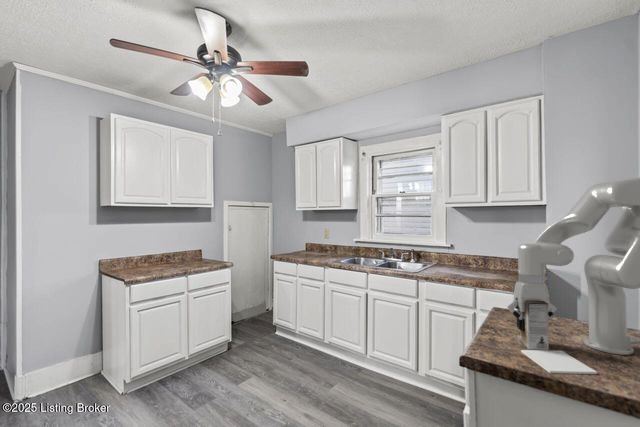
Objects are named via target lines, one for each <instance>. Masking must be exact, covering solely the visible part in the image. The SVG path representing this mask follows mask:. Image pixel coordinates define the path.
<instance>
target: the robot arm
mask: <svg viewBox="0 0 640 427" xmlns="http://www.w3.org/2000/svg"><path fill="white" fill-rule="evenodd" d="M611 208H620V215H618V219H617V221H616V222H615V223H614V225H613V226H612V228H611V230H610V231H609V233H608V235H607V237H606V238H605V240H604V248H605V250H606V251H608V252H609V253H611V254H613V255H608V254H607V255H606V254H597V255H596V254H595V255H592V256H590V257H588V259H587V260H586V261H585V263H584V266H583V270H584V276H585V278H586V283H587V290H588V291H587V292H588V293H587V295H588V301H587V302H588V303H587V304H588V336H585V337H584V338H582V339H583V340H582V341H583V344H584V345H586V346H587V347H590V348H592V349H594V350H597V351H599V352H604V353H608V354H615V355H623V356H624V355H632V354H634V347H632V344H640V337H630V335H628V333H627V330H628V328H627V297H626V293H625V290H624V289H629V290H637V289H638V290H639V289H640V177H633V178H627V179H623V180H618V181H617V180H616V181H610V182H609V181H608V182H600V183H596V184H593V185H591V186H590V187H589V188H588V189H587V190H585V192H584V194H582V196H580V198H579V199H578V200H577V201H576V203H575V204H574V206H572V208H571V209H570V210H569V212H567V214H566V215H565V216H564V217H562V218H560V219H559V220H556V221H555V222H554V223H553V224H551V225H550V226H548V227H547V228H546V229H545V230H543V231H542V232H541V233H540V235H538V237H537V238H536V239H535V241H534V242H533V243H521V244H519V245H518V246H517V263H518V264H517V267H518V268H517V269H518V270H517V272H518V273H517V274H518V281H516V282H515V285H514V290H513V300H512V301H513V302H512V303H510V304H509V305H508V306H507V307H506V308H507V309H508V311H509V312H510V313H511V314H512V315H513V316H514V317H515V319H516V327H517V330H518V329H519V330H521V331H525V321H524V320H523V317H524V312H525V301H545V302H546V303H548V321H549V320H550V318H551V317H552V316H553V315H554V314H555V312H556V311H557V310H558V308H557V306H555V305H554V304H553V303H551V302H550V293H549V290H548V286H547V283H545V282H546V280H547V281H548V280H549V279H548V275H546V274H545V265H547V266H555V267H564V266H568V265H569V264H571V263H572V262H573V260H574V257H575V253H574V251H573V250H572V248H570V247H569V246H568V245H565V244H562V243H563V242H565V241H566V240H569V239H570V238H573V237H575V236H578V235H581V234H585V233H587V232H589V231H592V230H594V229H595V227H596V226H597V225H598V223H600V221H601V220H602V219H603V217H604V216H605V215H606V214H607V213H608V212H609V210H610V209H611ZM615 255H616V256H615ZM621 256H622V257H621ZM517 309H518V310H517Z"/></svg>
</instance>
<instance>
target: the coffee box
mask: <svg viewBox="0 0 640 427" xmlns="http://www.w3.org/2000/svg"><path fill="white" fill-rule="evenodd" d="M517 310H518V309H516V311H517ZM523 320H524V321H525V331H521V330H519V329H518V328H517V339H518V340H519V341H520V342H521V343H522V345H524V346H525V347H526V348H527V350H549V320H548V303H546V302H545V301H525V312H524V317H523Z"/></svg>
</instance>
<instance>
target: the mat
mask: <svg viewBox="0 0 640 427" xmlns="http://www.w3.org/2000/svg"><path fill="white" fill-rule="evenodd" d="M520 352H521V353H522V354H523V355H525V356H526V357H528V358H529V359H530V360H532V361H533V362H534V363H536V364H537V365H538V366H539V367H541V368H542V369H544V370H545V371H546V372H548V373H549V374H571V375H572V374H574V375H575V374H577V375H578V374H580V375H598V371H596V370H595V369H593V368H591V367H590V366H588V365H586V364H585V363H583V362H581V361H580V360H578V359H576V358H574V357H573V356H572V355H570V354H568V353H566V352H565V351H563V350H550V349H548V350H531V349H521V350H520Z"/></svg>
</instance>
